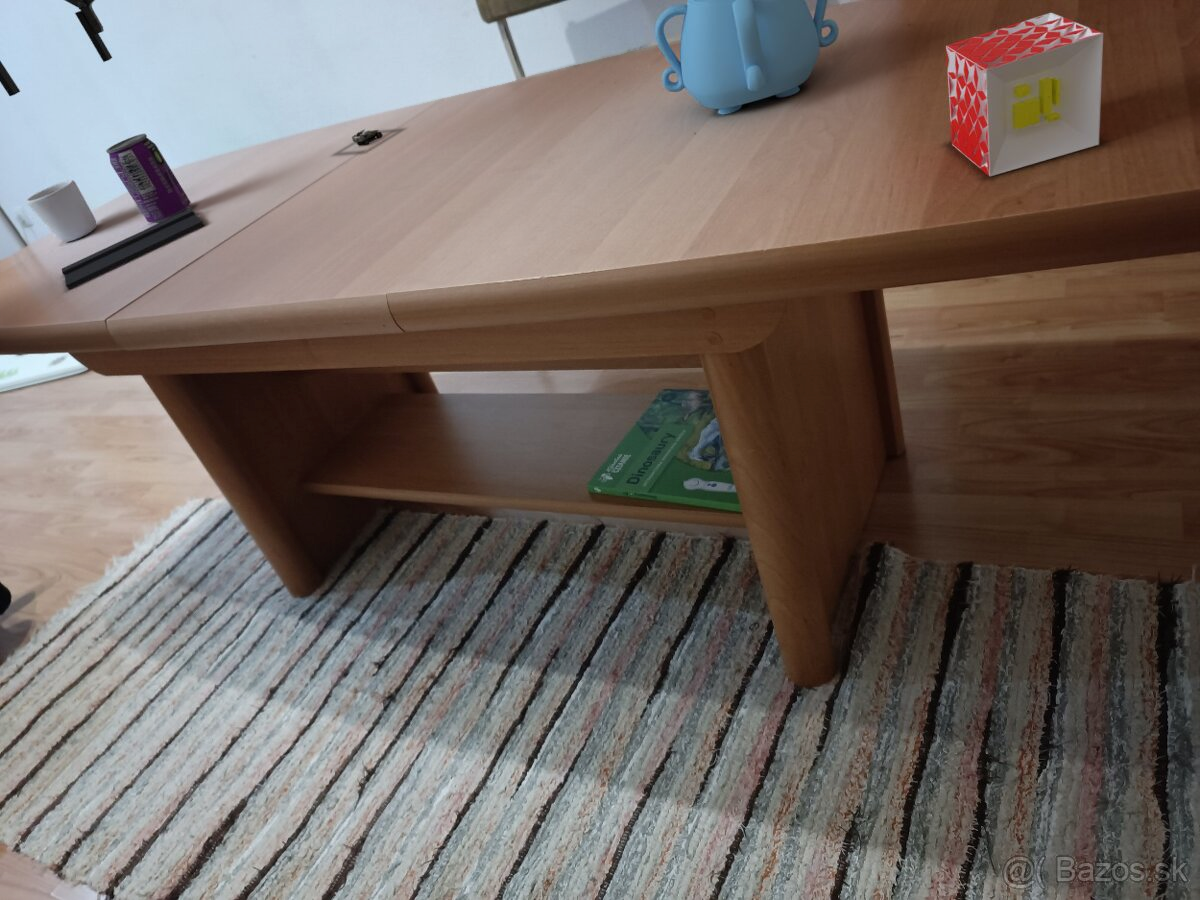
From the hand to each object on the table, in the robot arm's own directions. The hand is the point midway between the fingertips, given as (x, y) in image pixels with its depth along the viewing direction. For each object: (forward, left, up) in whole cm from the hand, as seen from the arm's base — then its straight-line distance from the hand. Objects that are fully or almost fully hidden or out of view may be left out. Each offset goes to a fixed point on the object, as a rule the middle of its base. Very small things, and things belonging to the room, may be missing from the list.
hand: (62, 77), depth 122 cm
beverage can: (+2, +1, -23) cm, 23 cm away
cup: (-16, +15, -23) cm, 32 cm away
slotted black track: (-2, -11, -23) cm, 25 cm away
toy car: (+35, -2, -23) cm, 42 cm away
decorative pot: (+79, -52, -23) cm, 97 cm away
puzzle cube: (+85, -89, -23) cm, 125 cm away
